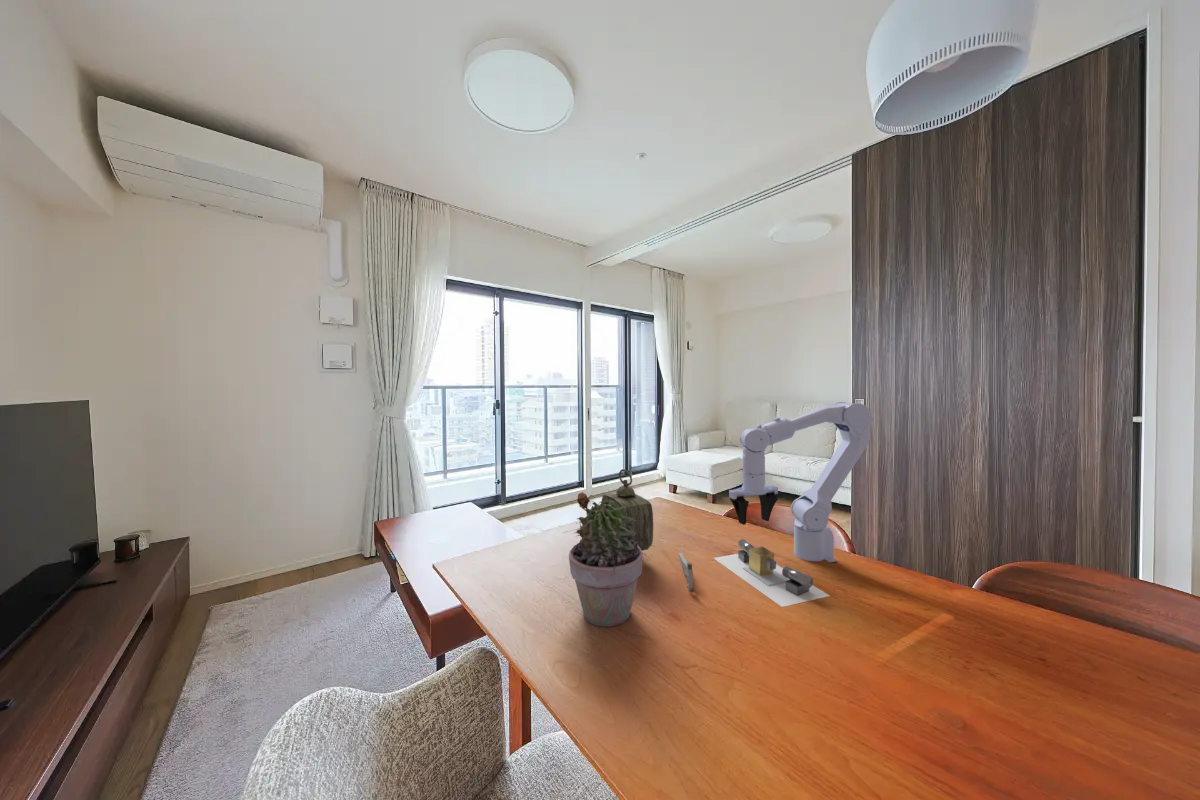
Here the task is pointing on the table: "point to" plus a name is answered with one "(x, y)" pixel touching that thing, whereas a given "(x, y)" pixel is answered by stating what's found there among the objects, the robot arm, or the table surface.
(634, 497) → the tabletop clock
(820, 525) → the robot arm
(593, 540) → the potted plant
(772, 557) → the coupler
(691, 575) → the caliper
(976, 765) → the table surface
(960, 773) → the table surface
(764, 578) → the bench
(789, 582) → the shaft
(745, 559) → the shaft
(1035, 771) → the table surface
